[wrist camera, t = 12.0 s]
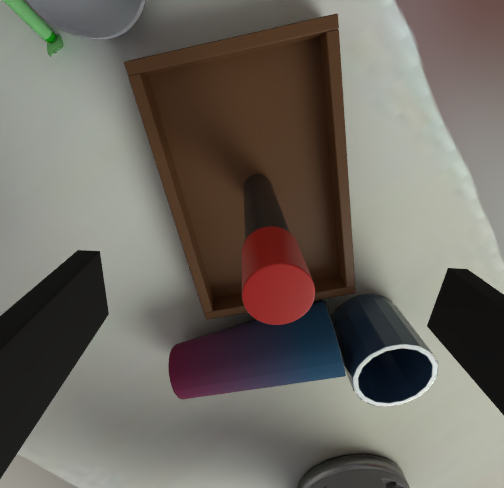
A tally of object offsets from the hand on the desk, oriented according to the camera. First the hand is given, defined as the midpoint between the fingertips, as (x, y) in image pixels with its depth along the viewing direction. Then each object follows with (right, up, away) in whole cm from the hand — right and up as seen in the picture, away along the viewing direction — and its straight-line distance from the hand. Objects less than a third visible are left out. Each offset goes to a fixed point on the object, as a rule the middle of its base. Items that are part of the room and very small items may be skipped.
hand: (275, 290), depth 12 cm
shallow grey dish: (-15, +19, +10) cm, 26 cm away
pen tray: (0, +6, +14) cm, 15 cm away
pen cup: (+11, -6, +20) cm, 23 cm away
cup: (-8, -11, +18) cm, 22 cm away
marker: (0, +6, +13) cm, 15 cm away
